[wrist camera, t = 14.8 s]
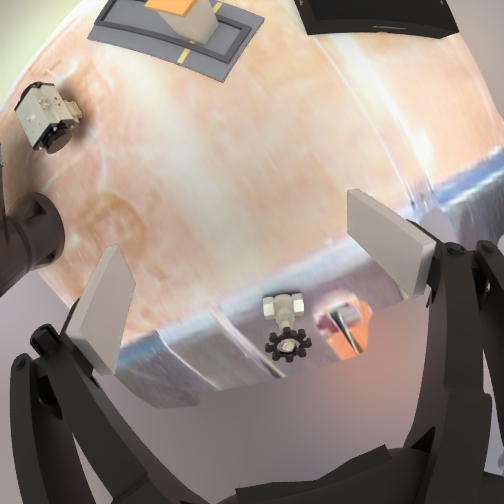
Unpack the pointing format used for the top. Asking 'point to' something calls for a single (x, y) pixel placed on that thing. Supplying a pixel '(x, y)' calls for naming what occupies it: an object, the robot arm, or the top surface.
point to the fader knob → (187, 17)
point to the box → (378, 17)
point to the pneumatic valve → (47, 117)
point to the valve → (285, 326)
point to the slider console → (169, 42)
